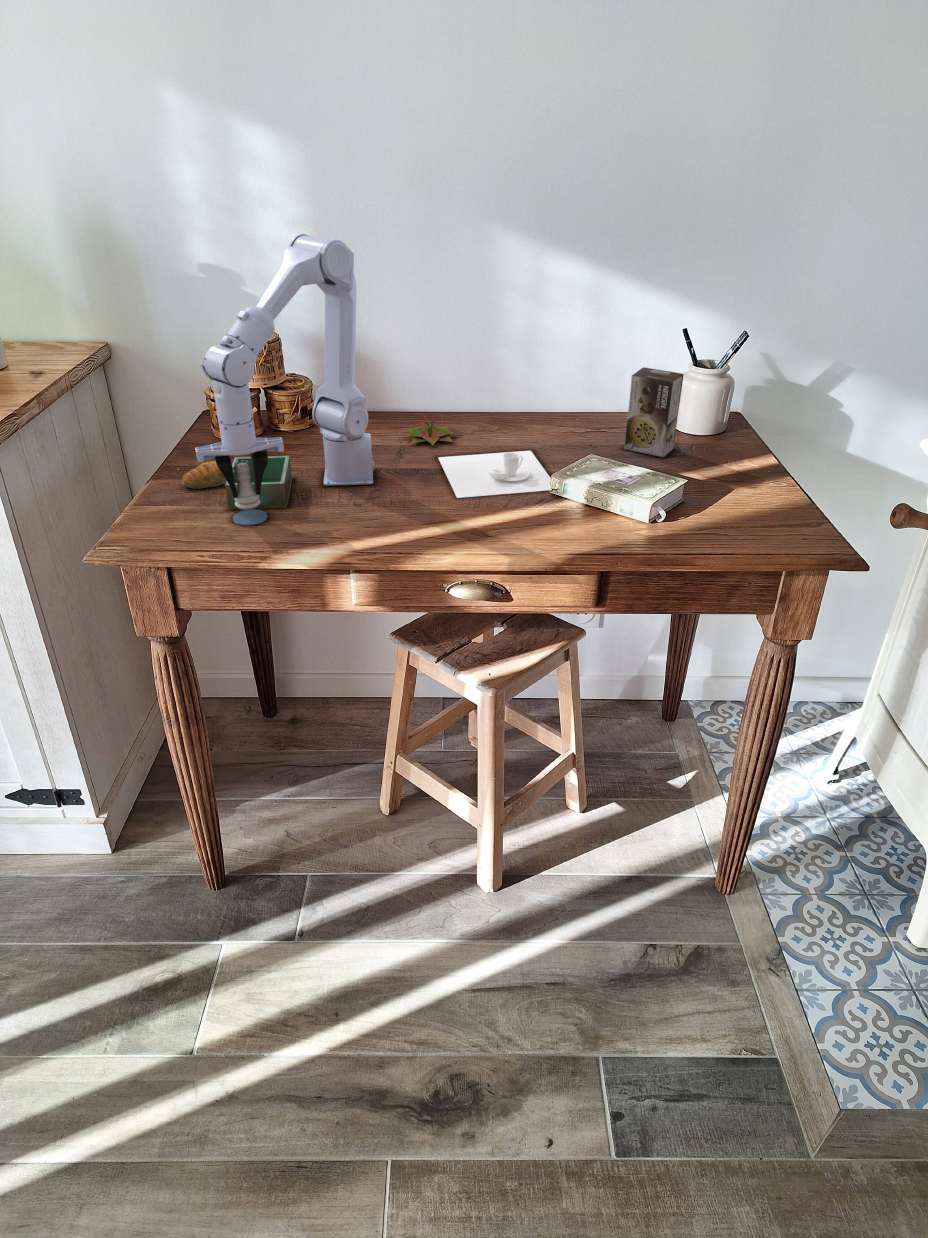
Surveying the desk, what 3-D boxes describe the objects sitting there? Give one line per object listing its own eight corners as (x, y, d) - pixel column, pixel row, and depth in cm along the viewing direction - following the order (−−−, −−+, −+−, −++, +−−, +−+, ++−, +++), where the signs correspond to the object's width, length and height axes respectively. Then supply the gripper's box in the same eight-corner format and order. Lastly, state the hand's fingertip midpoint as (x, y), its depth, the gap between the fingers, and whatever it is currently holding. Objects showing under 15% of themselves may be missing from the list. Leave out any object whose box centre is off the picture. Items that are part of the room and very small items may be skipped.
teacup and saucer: (491, 485, 165) (492, 465, 162) (482, 468, 171) (483, 449, 169) (535, 481, 166) (536, 461, 164) (524, 465, 173) (525, 446, 170)
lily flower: (453, 426, 191) (453, 406, 188) (460, 446, 181) (461, 426, 179) (400, 428, 190) (399, 409, 187) (404, 449, 180) (404, 428, 177)
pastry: (191, 494, 160) (187, 475, 158) (177, 483, 165) (173, 464, 163) (237, 481, 165) (234, 463, 163) (221, 471, 170) (218, 453, 167)
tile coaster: (268, 510, 155) (268, 508, 155) (265, 525, 150) (265, 523, 150) (235, 511, 154) (235, 509, 154) (230, 526, 149) (230, 524, 149)
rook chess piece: (230, 504, 151) (224, 461, 147) (253, 497, 153) (247, 455, 149) (242, 512, 148) (235, 470, 144) (265, 505, 150) (259, 463, 146)
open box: (292, 479, 166) (289, 455, 164) (286, 507, 156) (283, 483, 153) (238, 480, 166) (234, 457, 163) (229, 509, 155) (225, 485, 152)
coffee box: (674, 448, 181) (685, 373, 172) (663, 458, 176) (674, 381, 168) (634, 439, 185) (643, 365, 176) (622, 449, 180) (631, 373, 172)
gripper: (275, 406, 147) (283, 479, 155) (188, 416, 143) (201, 490, 150) (282, 420, 142) (290, 494, 149) (192, 430, 138) (206, 506, 145)
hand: (246, 493), depth 149 cm, fingers closed on rook chess piece, 3 cm apart
